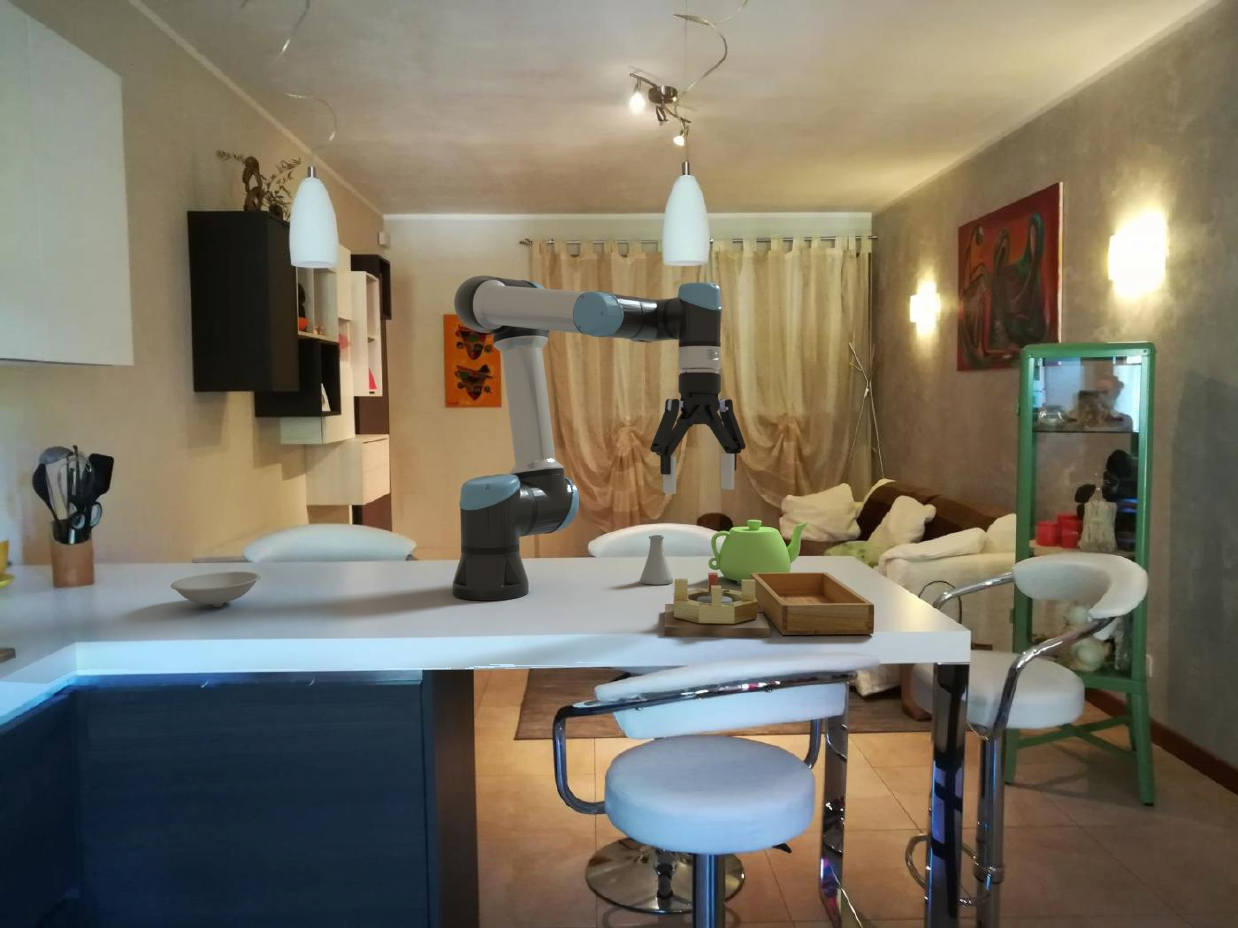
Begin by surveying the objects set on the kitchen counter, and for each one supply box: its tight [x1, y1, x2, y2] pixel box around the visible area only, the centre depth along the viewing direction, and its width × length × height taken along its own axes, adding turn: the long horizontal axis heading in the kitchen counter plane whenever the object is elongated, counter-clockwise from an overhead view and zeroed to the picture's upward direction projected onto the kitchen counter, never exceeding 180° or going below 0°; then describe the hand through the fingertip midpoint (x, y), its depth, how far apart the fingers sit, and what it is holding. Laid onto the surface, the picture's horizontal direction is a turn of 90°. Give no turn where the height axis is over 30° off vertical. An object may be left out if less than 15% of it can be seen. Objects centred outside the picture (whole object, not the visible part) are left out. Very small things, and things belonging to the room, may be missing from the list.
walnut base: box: [664, 595, 771, 638], centre depth 153 cm, size 17×17×4 cm
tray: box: [750, 571, 875, 636], centre depth 159 cm, size 31×15×6 cm, turn 1°
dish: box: [170, 570, 262, 608], centre depth 167 cm, size 18×14×5 cm
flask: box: [639, 534, 674, 586], centre depth 189 cm, size 7×7×10 cm
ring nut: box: [673, 572, 757, 624], centre depth 152 cm, size 14×14×6 cm
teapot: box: [708, 519, 811, 586], centre depth 190 cm, size 22×15×13 cm
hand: (699, 491), depth 159 cm, fingers open, 13 cm apart
